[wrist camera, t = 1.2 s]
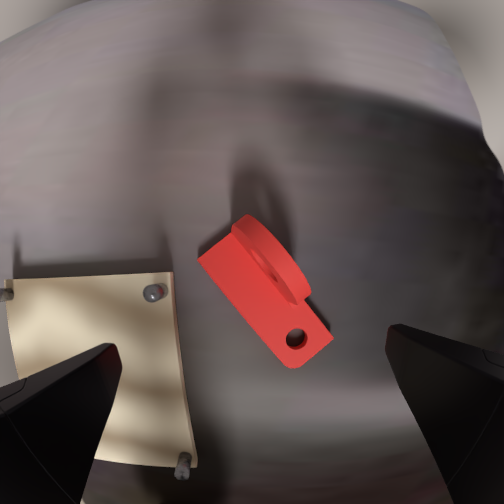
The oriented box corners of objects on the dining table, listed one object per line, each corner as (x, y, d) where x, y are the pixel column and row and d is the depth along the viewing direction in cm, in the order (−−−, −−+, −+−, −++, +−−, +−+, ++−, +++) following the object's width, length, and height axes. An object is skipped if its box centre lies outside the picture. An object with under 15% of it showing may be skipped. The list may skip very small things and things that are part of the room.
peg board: (197, 458, 22) (194, 486, 18) (46, 439, 21) (27, 457, 16) (173, 271, 23) (160, 272, 19) (12, 279, 22) (-16, 280, 17)
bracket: (198, 260, 24) (184, 255, 16) (241, 225, 24) (248, 204, 16) (289, 369, 24) (314, 408, 16) (329, 335, 24) (370, 360, 16)
